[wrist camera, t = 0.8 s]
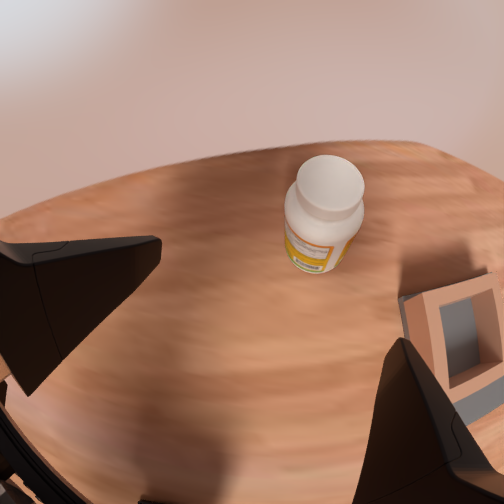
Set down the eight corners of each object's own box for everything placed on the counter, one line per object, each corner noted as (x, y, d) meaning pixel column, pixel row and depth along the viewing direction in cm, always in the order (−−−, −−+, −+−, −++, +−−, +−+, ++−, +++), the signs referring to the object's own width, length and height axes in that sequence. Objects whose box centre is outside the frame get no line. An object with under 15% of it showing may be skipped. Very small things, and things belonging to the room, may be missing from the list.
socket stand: (501, 399, 15) (528, 401, 11) (412, 446, 16) (435, 460, 12) (486, 274, 20) (512, 260, 16) (397, 298, 21) (420, 286, 17)
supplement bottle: (330, 210, 25) (349, 138, 16) (354, 262, 23) (392, 206, 14) (276, 228, 25) (270, 157, 16) (297, 283, 23) (305, 235, 14)
